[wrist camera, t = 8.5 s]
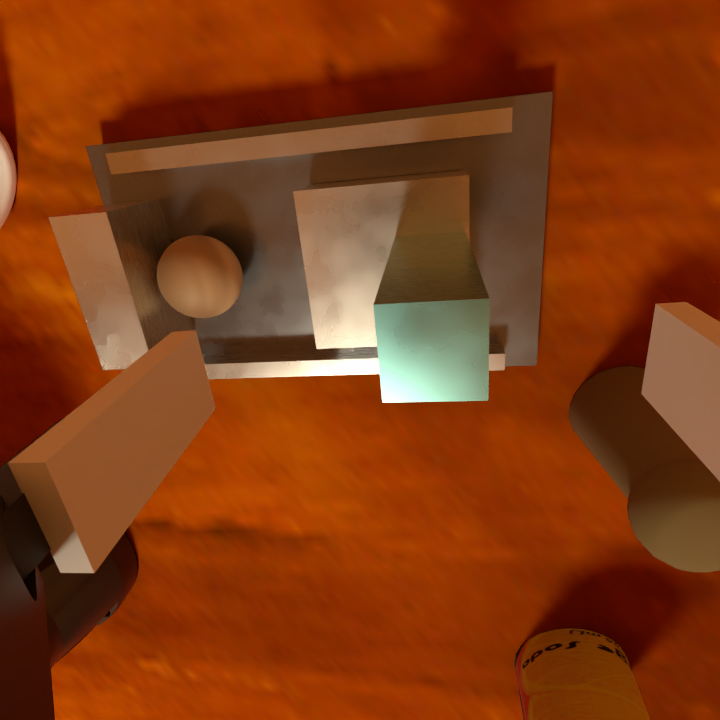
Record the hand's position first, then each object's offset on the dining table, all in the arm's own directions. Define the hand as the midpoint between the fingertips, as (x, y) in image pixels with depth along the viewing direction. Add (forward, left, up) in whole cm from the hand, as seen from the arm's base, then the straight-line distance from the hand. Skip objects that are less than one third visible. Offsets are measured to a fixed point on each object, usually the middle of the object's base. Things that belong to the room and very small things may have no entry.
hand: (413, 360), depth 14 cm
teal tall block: (-2, 0, -13) cm, 13 cm away
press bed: (-6, 0, -15) cm, 16 cm away
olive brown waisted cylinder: (+12, -11, -15) cm, 22 cm away
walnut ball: (-12, 0, -11) cm, 16 cm away
